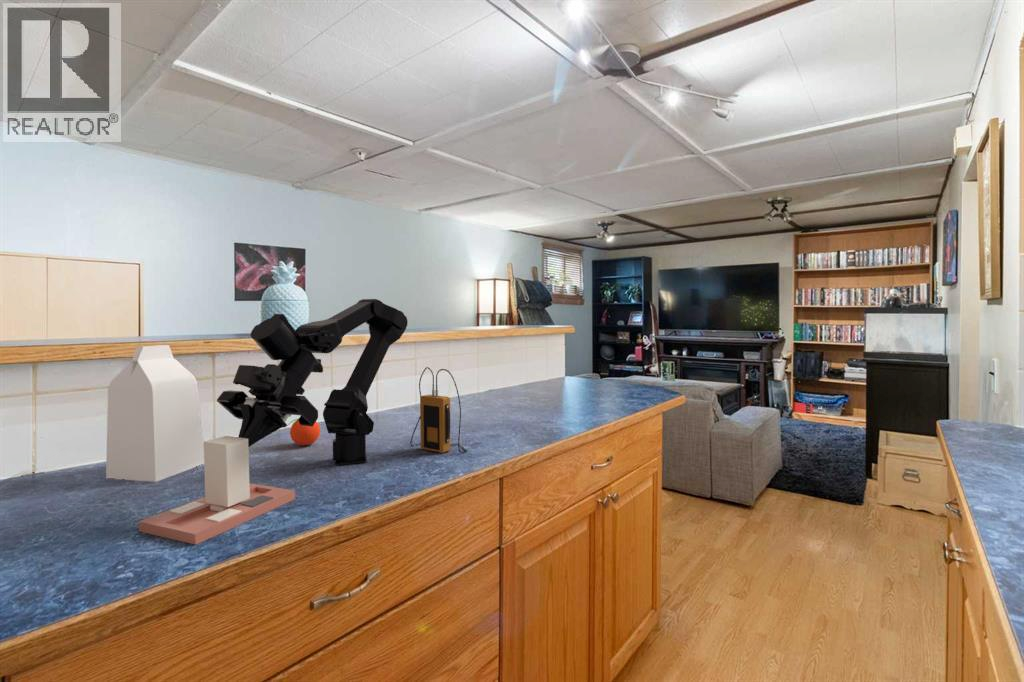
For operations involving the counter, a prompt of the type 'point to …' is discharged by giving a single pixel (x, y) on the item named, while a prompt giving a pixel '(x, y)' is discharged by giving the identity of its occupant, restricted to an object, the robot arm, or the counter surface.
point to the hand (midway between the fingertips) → (238, 449)
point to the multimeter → (436, 420)
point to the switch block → (213, 515)
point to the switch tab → (226, 472)
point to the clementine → (304, 433)
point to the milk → (153, 418)
